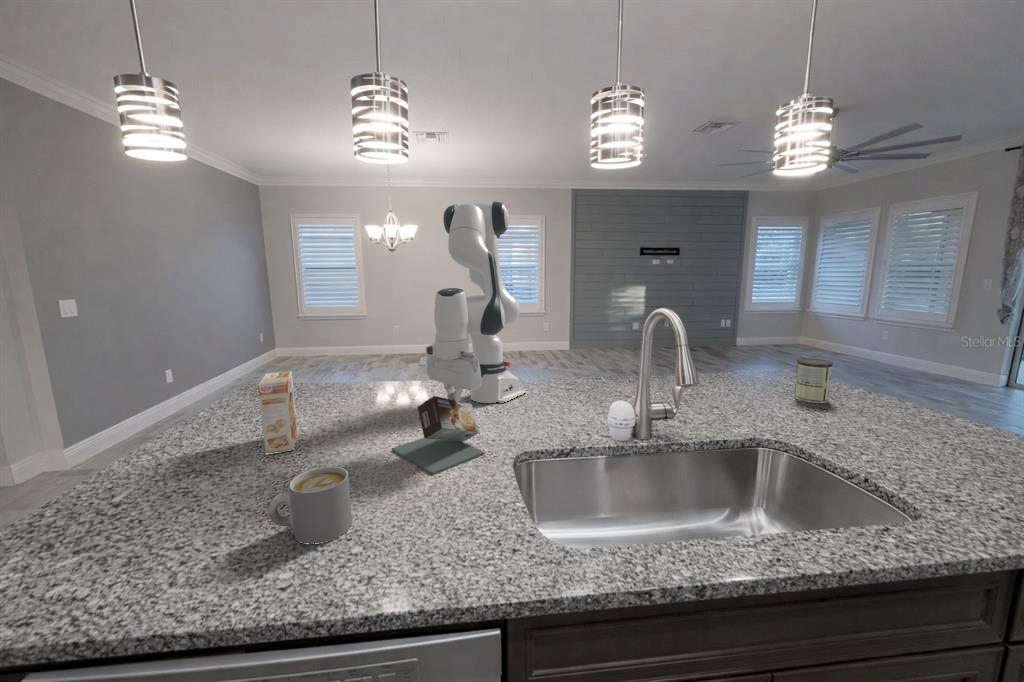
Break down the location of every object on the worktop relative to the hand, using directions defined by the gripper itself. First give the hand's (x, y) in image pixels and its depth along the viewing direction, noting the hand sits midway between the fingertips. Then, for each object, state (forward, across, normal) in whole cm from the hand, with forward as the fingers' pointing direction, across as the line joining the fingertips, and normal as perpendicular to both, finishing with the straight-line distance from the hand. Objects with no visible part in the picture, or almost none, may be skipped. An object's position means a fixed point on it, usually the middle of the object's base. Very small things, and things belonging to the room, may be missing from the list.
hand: (454, 400), depth 112 cm
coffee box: (+8, +1, -5) cm, 10 cm away
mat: (+13, 0, +6) cm, 14 cm away
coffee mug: (+14, -12, +41) cm, 45 cm away
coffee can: (+12, -59, -115) cm, 130 cm away
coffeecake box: (+14, +37, +33) cm, 52 cm away
